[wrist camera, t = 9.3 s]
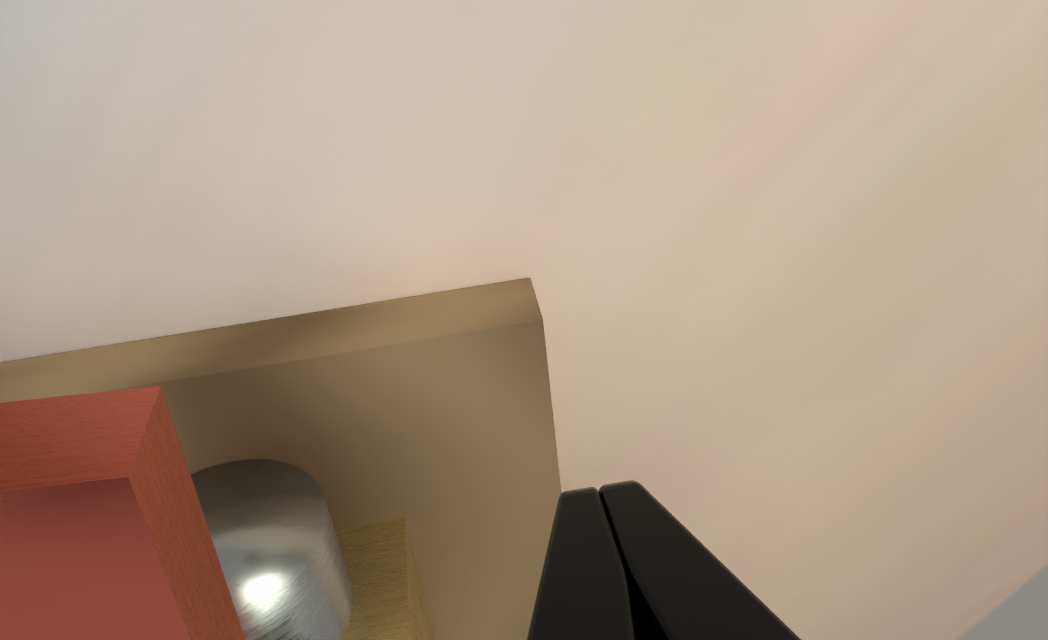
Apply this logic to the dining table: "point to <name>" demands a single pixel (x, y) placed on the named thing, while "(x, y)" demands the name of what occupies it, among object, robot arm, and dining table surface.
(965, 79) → the dining table surface
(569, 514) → the robot arm
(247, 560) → the ball valve
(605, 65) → the dining table surface
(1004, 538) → the dining table surface
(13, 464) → the valve lever
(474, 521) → the valve board
